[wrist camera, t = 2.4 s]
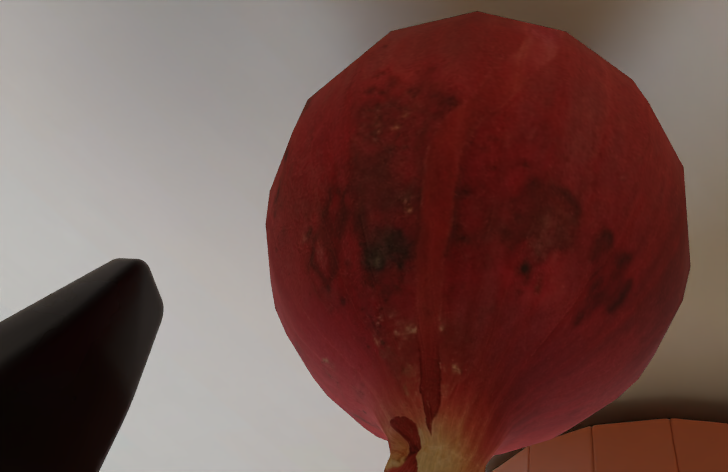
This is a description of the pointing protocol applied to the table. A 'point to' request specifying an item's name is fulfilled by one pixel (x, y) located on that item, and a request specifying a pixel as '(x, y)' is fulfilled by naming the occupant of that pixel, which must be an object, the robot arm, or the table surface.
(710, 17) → the table surface
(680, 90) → the table surface
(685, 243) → the onion
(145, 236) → the table surface
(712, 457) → the bowl
